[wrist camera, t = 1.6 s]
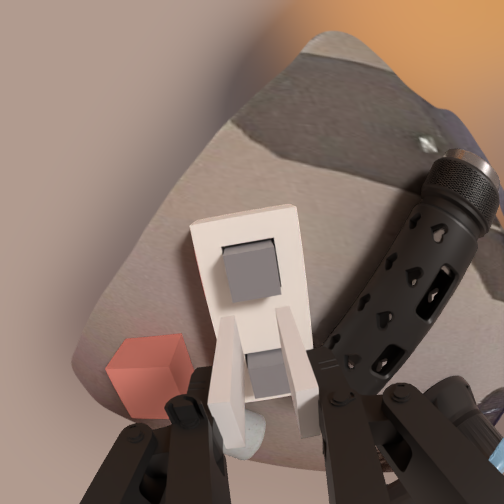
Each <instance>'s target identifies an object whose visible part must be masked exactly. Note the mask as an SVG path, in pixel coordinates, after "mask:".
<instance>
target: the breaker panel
mask: <svg viewBox="0 0 504 504" xmlns="http://www.w3.org/2000/svg"><path fill="white" fill-rule="evenodd" d="M190 230H191V235H192V240H193V244H194V249H195V250H194V252H195V257H196V261H197V266H198V270H199V274H200V279H201V283H202V287H203V291H204V295H205V298H206V300H207V304H208V308H209V312H210V316H211V320H212V323H213V327H214V331H215V335H216V338H217V337H218V330H219V324H220V318H221V317H226V316H232V315H235V319H236V323H237V328H238V332H239V336H240V341H241V345H242V349H243V354H244V380H245V403H246V402H254V401H261V400H267V399H274V398H279V397H285V396H291V393H288V394H282V395H277V396H271V397H264V398H257V399H255V396H254V392H253V388H252V384H251V380H250V376H249V372H248V356H247V353H254V352H260V351H266V350H272V349H278V348H281V344H280V337H279V331H278V325H277V318H276V312H275V308H279V307H285V306H290V309H291V312H292V315H293V317H294V320H295V323H296V326H297V328H298V331H299V334H300V337H301V339H302V342H303V345H304V348H305V350H310V349H313V341H312V330H311V320H310V310H309V300H308V291H307V282H306V274H305V266H304V258H303V250H302V243H301V236H300V228H299V221H298V215H297V208H296V206H294V205H291V204H284V205H278V206H272V207H266V208H260V209H254V210H249V211H243V212H238V213H232V214H227V215H221V216H216V217H211V218H205V219H200V220H196V221H195V222H194V223H192V224H191V225H190ZM268 238H270V239H271V242H272V244H273V246H274V249H275V256H276V262H277V268H278V275H279V281H280V288H281V295H276V296H271V297H265V298H260V299H254V300H248V301H242V302H236V303H233V302H232V297H231V293H230V288H229V283H228V279H227V274H226V269H225V264H224V259H223V253H224V250H225V246H228V245H234V244H239V243H245V242H251V241H256V240H262V239H268Z"/></svg>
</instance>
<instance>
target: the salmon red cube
mask: <svg viewBox="0 0 504 504" xmlns="http://www.w3.org/2000/svg"><path fill="white" fill-rule="evenodd" d="M105 370H106V372H107V374H108V376H109V378H110V380H111V382H112V383H113V385H114V387H115V389H116V391H117V393H118V395H119V397H120V398H121V400H122V402H123V404H124V405H125V407H126V409H127V411H128V412H129V414H130V416H131V417H132V418H144V419H169V417H168V415H167V413H166V411H165V409H164V407H165V405H166V403H167V402H168V401H169V400H170V399H171V398H173V397H175V396H177V395H181V394H187V390H188V386H189V382H190V377H191V374H192V373H193V372H194V369H193V366H192V363H191V360H190V357H189V354H188V352H187V349H186V346H185V342H184V339H183V336H182V333H180V334H171V335H162V336H152V337H141V338H129V339H125V340H124V342H123V343H122V345H121V346H120V348H119V349H118V351H117V352H116V354H115V355H114V356H113V358H112V359H111V361H110V362H109V364H108V365H107V367H106V368H105Z"/></svg>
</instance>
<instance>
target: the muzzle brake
mask: <svg viewBox="0 0 504 504" xmlns="http://www.w3.org/2000/svg"><path fill="white" fill-rule="evenodd" d="M499 188H500V180H499V177H498V175H497V173H496V172H495V170H494V169H493V168H492V167H491V166H490V165H489V164H488V163H487V162H486V161H485V160H483V159H482V158H480V157H479V156H477V155H476V154H473V153H471V152H469V151H466V150H463V149H449V150H448V151H446V152H445V154H444V156H443V157H442V158H440V159H438V160H436V161H435V162H434V164H433V165H432V167H431V170H430V172H429V174H428V176H427V178H426V180H425V182H424V184H423V186H422V189H421V191H422V192H421V198H422V202H421V204H417V205H416V206H415V207H414V208H413V210H412V212H411V213H410V215H409V217H408V219H407V221H406V222H405V224H404V226H403V228H402V229H401V231H400V233H399V234H398V236H397V238H396V240H395V241H394V243H393V245H392V246H391V248H390V249H389V251H388V253H387V254H386V256H385V257H384V259H383V261H382V262H381V264H380V265H379V267H378V268H377V270H376V272H375V273H374V275H373V276H372V278H371V279H370V281H369V282H368V284H367V285H366V287H365V288H364V290H363V291H362V292H361V294H360V295H359V297H358V298H357V300H356V301H355V302H354V304H353V305H352V307H351V308H350V309H349V311H348V312H347V314H346V315H345V316H344V318H343V319H342V320H341V322H340V323H339V324H338V326H337V327H336V328H335V330H334V331H333V332H332V334H331V335H330V336H329V337H328V339H327V340H326V341H325V342H324V344H323V345H322V346H321V347H324V346H325V347H326V348H328V349H329V350H331V351H332V352H333V354H334V356H335V358H336V360H337V362H338V364H339V366H340V368H341V370H342V372H343V374H344V376H345V378H346V380H347V382H348V384H349V386H350V388H352V389H354V390H356V391H357V392H358V394H361V395H377V394H378V393H379V392H380V391H381V389H382V388H383V387H384V386H385V385H386V383H387V382H388V381H389V380H390V379H391V378H392V377H393V375H394V374H395V373H396V372H397V371H398V370H399V369H400V368H401V367H402V365H403V364H404V363H405V362H406V360H407V359H408V358H409V357H410V355H411V354H412V353H413V352H414V350H415V348H416V347H417V346H418V345H419V343H420V342H421V341H422V339H423V338H424V336H425V335H426V334H427V333H428V331H429V330H430V329H431V327H432V326H433V324H434V323H435V321H436V320H437V318H438V317H439V315H440V314H441V312H442V310H443V309H444V307H445V306H446V304H447V303H448V301H449V299H450V298H451V296H452V295H453V293H454V292H455V290H456V288H457V287H458V285H459V283H460V282H461V280H462V278H463V276H464V274H465V272H466V270H467V268H468V266H469V265H470V263H471V261H472V259H473V257H474V256H475V254H476V252H477V249H478V244H477V240H478V238H481V237H483V236H484V235H485V234H486V233H488V231H489V229H490V227H491V224H492V222H493V220H494V217H495V215H496V212H497V210H498V207H499V193H498V191H499ZM414 279H416V283H415V284H414V285H412V280H414ZM437 292H438V293H437ZM435 293H437V294H436V295H435V296H434V299H433V301H432V294H435ZM390 313H391V314H392V318H391V320H390V321H389V314H390ZM385 361H387V363H386V365H384V366H383V367H382V362H385ZM348 362H349V363H351V364H352V365H353V366H354V367H353V368H349V366H348ZM381 368H382V369H381Z"/></svg>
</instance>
